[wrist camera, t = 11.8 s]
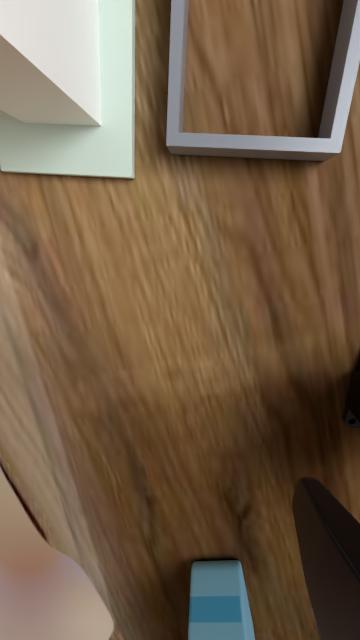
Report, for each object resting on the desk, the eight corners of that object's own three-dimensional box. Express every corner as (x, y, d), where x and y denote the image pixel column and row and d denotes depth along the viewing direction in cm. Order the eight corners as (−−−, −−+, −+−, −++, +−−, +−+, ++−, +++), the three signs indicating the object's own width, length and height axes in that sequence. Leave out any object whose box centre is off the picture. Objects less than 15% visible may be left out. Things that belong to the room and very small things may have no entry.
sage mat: (135, -138, 13) (132, -154, 12) (134, 178, 17) (131, 177, 17) (-31, -134, 14) (-42, -149, 13) (7, 172, 18) (1, 170, 17)
